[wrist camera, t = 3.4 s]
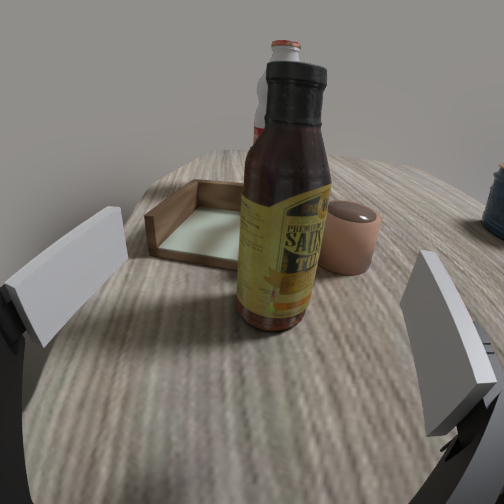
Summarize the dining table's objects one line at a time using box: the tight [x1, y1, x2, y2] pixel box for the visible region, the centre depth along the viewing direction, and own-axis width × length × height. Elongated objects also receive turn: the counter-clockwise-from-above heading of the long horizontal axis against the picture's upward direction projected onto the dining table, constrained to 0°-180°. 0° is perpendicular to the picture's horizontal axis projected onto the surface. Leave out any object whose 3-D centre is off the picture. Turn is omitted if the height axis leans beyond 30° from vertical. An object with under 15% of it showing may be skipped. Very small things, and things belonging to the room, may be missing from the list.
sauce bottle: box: [236, 60, 332, 331], centre depth 21 cm, size 6×6×20 cm
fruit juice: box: [253, 40, 301, 145], centre depth 47 cm, size 9×9×28 cm
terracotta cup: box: [318, 200, 382, 275], centre depth 32 cm, size 7×7×6 cm
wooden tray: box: [144, 179, 244, 270], centre depth 36 cm, size 15×14×5 cm
